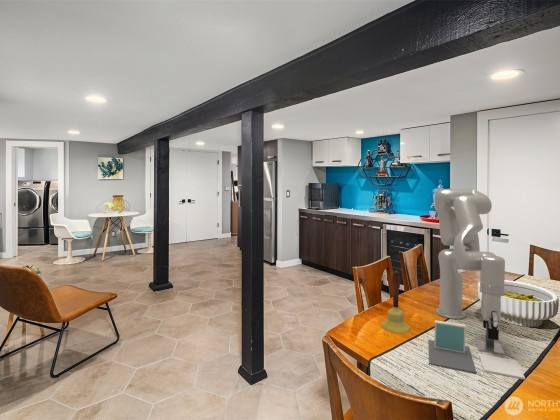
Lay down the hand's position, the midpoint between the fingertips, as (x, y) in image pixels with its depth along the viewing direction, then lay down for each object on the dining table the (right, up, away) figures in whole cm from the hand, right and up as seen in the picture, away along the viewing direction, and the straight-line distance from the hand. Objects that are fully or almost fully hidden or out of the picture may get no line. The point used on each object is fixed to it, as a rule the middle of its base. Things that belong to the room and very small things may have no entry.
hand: (490, 333), depth 118 cm
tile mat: (-18, -6, -4) cm, 19 cm away
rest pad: (-4, -7, -12) cm, 14 cm away
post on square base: (0, -6, +1) cm, 6 cm away
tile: (-16, -1, -1) cm, 16 cm away
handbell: (-29, -5, +19) cm, 35 cm away
